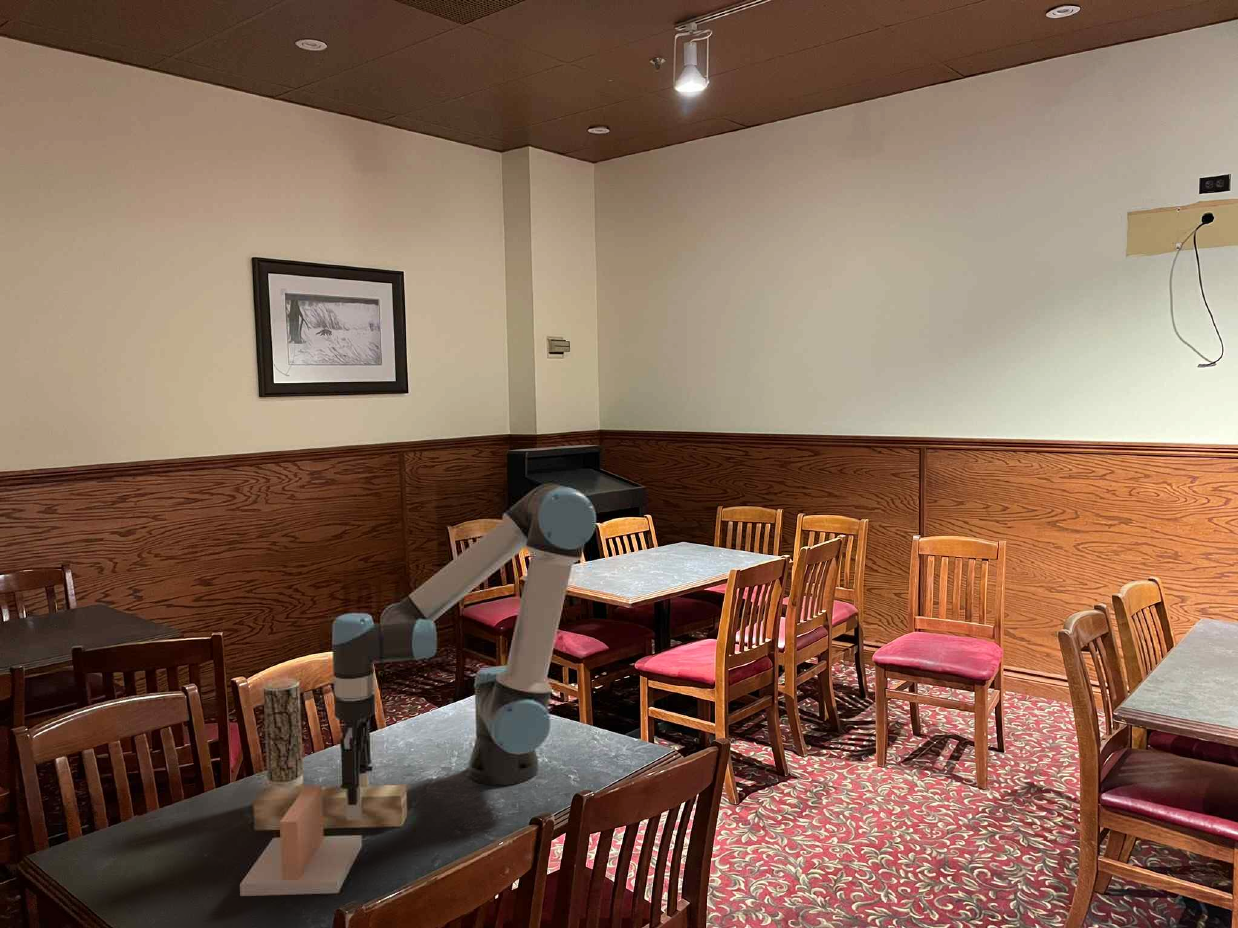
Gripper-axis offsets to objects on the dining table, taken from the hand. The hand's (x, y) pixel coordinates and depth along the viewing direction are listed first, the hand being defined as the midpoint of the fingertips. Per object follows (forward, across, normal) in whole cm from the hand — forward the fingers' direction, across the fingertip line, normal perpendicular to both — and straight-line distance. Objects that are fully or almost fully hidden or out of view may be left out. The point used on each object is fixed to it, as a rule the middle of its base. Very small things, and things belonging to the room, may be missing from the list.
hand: (358, 811), depth 177 cm
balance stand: (+2, +18, -5) cm, 19 cm away
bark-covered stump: (+2, -9, -17) cm, 19 cm away
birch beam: (+2, 0, -5) cm, 5 cm away
